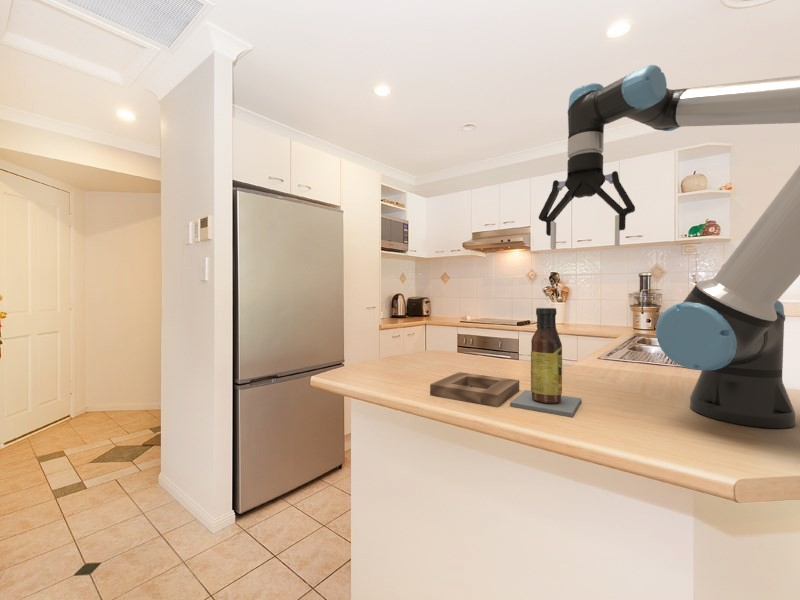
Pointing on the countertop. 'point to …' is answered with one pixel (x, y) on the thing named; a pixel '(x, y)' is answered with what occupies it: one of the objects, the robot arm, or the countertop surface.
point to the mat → (547, 404)
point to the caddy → (459, 388)
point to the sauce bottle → (546, 359)
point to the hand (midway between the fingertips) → (583, 247)
